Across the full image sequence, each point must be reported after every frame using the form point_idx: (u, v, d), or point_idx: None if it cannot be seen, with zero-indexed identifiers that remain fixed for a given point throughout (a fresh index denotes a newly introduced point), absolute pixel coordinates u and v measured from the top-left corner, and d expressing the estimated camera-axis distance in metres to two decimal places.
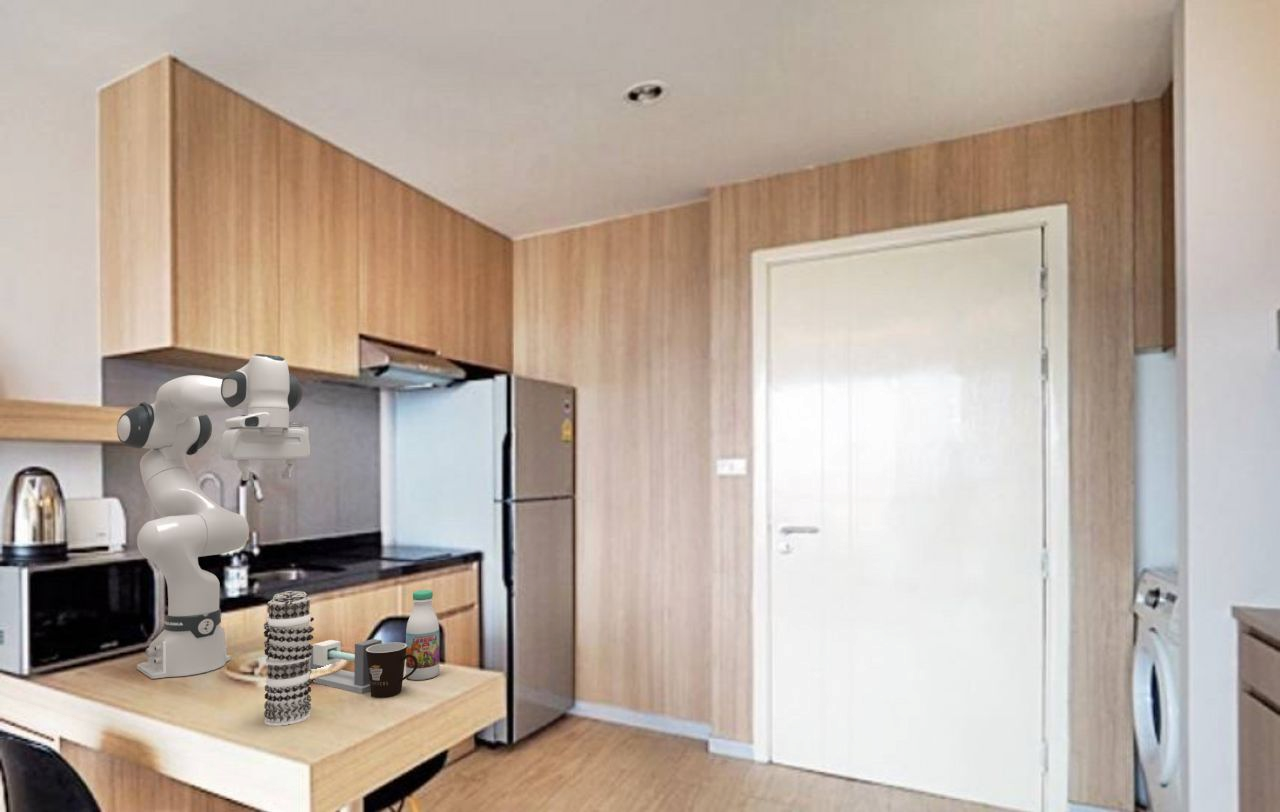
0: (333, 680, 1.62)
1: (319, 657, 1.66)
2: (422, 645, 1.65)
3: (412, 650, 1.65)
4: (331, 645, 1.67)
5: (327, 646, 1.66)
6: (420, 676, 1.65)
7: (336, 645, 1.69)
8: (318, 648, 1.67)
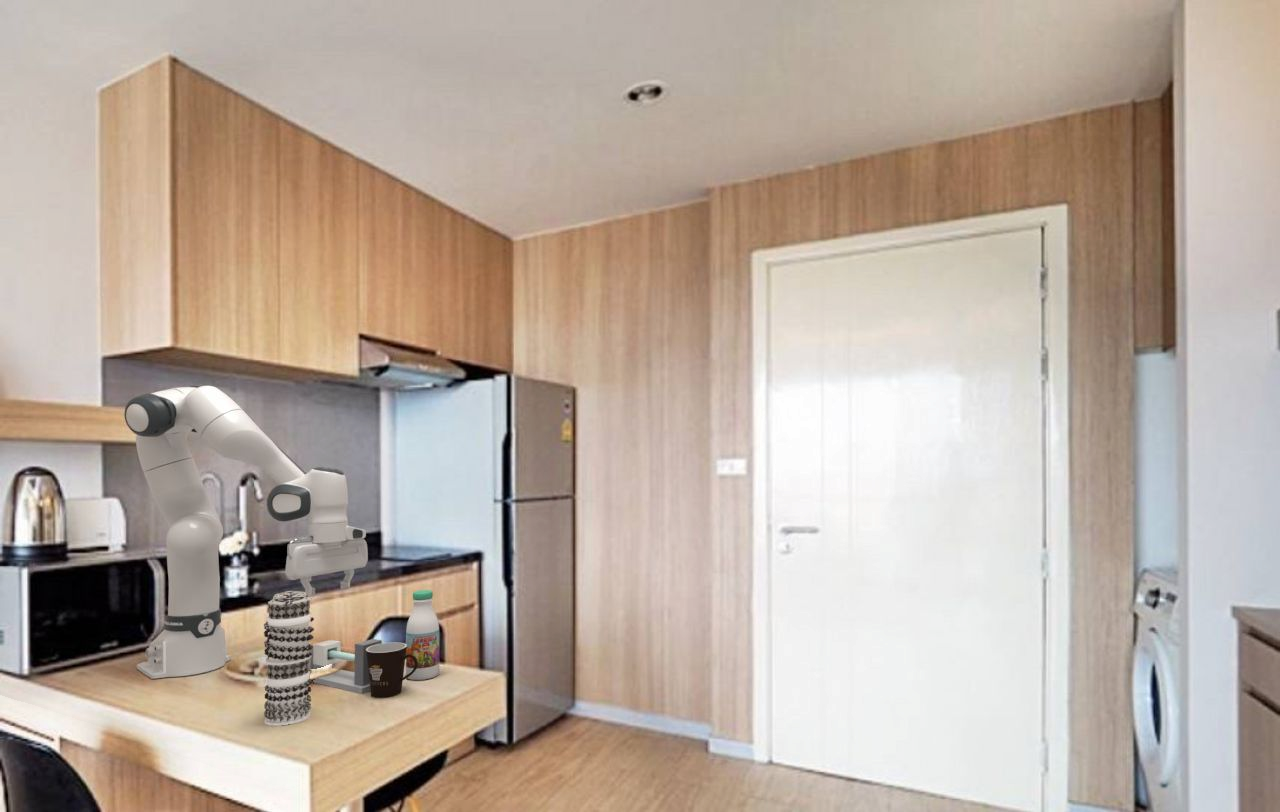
0: (333, 680, 1.62)
1: (319, 657, 1.66)
2: (422, 645, 1.65)
3: (412, 650, 1.65)
4: (331, 645, 1.67)
5: (327, 646, 1.66)
6: (420, 676, 1.65)
7: (336, 645, 1.69)
8: (318, 648, 1.67)
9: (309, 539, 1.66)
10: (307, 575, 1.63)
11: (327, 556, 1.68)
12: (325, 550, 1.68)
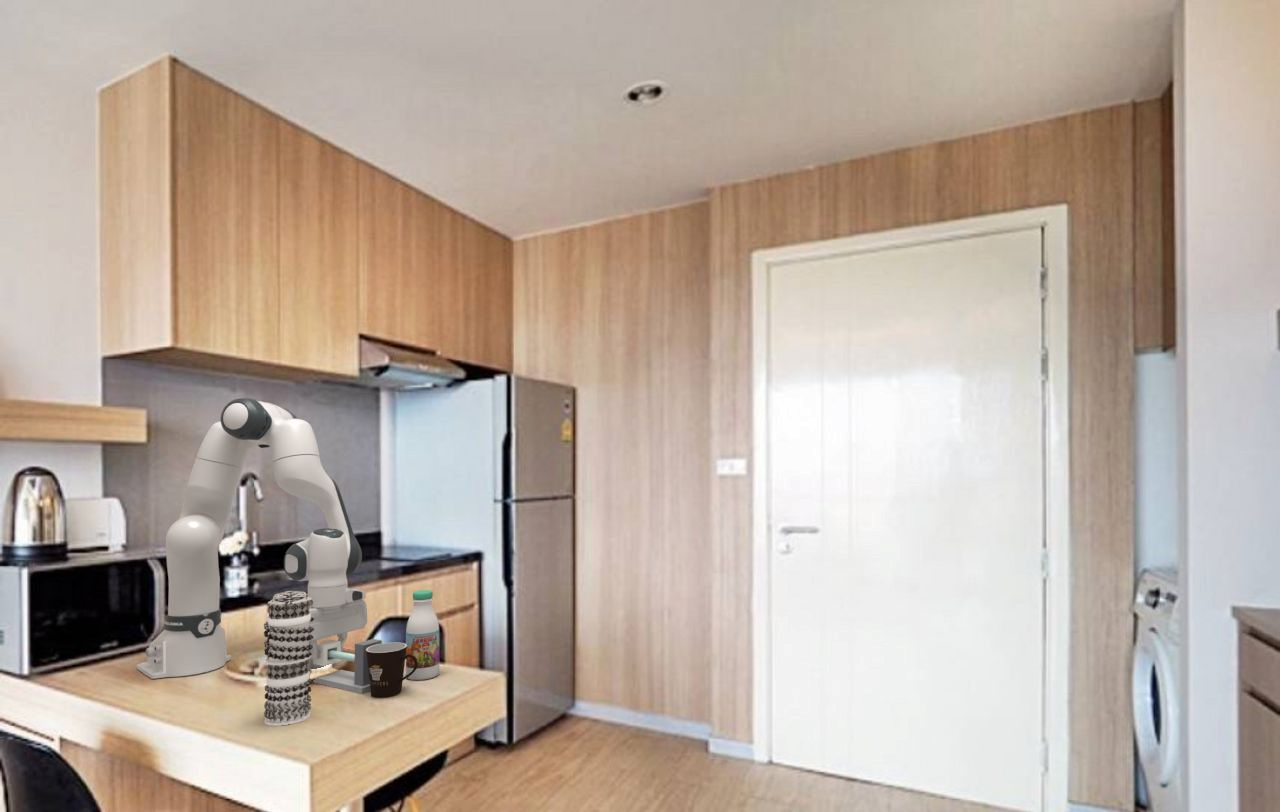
0: (333, 680, 1.62)
1: None
2: (422, 645, 1.65)
3: (412, 650, 1.65)
4: (331, 645, 1.67)
5: (327, 646, 1.66)
6: (420, 676, 1.65)
7: (336, 645, 1.69)
8: (318, 648, 1.67)
9: None
10: None
11: (326, 620, 1.67)
12: (324, 614, 1.67)
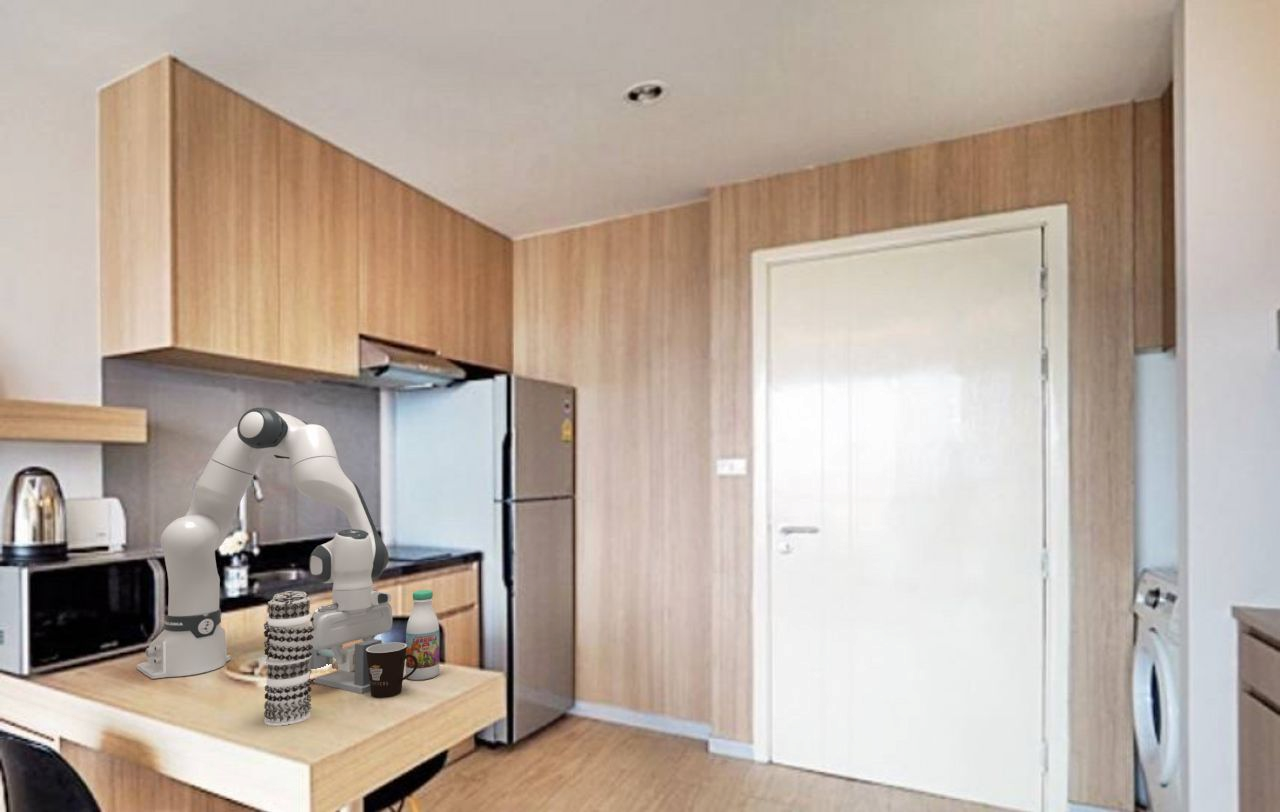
0: (333, 680, 1.62)
1: None
2: (422, 645, 1.65)
3: (412, 650, 1.65)
4: None
5: (353, 651, 1.62)
6: (420, 676, 1.65)
7: None
8: (343, 653, 1.62)
9: (334, 607, 1.60)
10: (332, 645, 1.57)
11: (352, 624, 1.62)
12: (350, 617, 1.62)
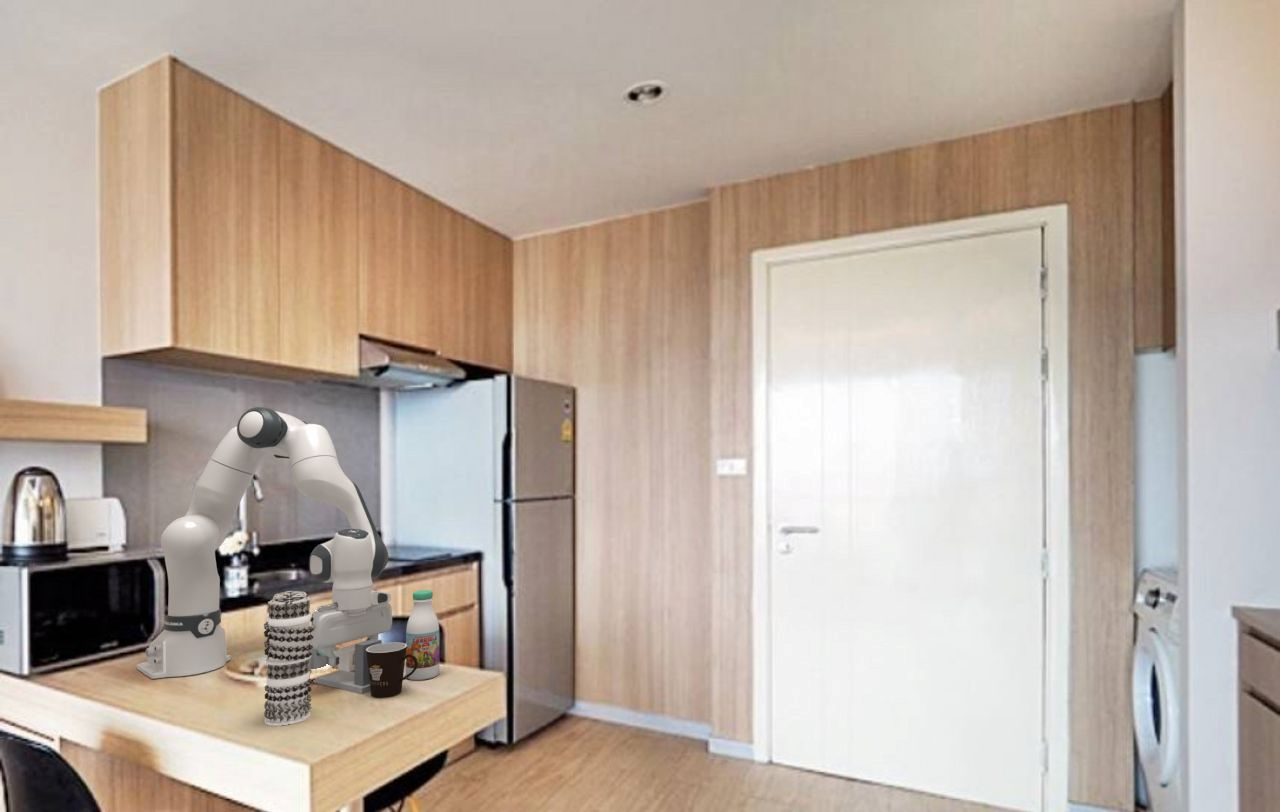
0: (333, 680, 1.62)
1: (344, 662, 1.61)
2: (422, 645, 1.65)
3: (412, 650, 1.65)
4: None
5: (352, 651, 1.62)
6: (420, 676, 1.65)
7: None
8: (343, 653, 1.62)
9: (333, 606, 1.60)
10: (331, 645, 1.57)
11: (352, 623, 1.62)
12: (350, 617, 1.62)
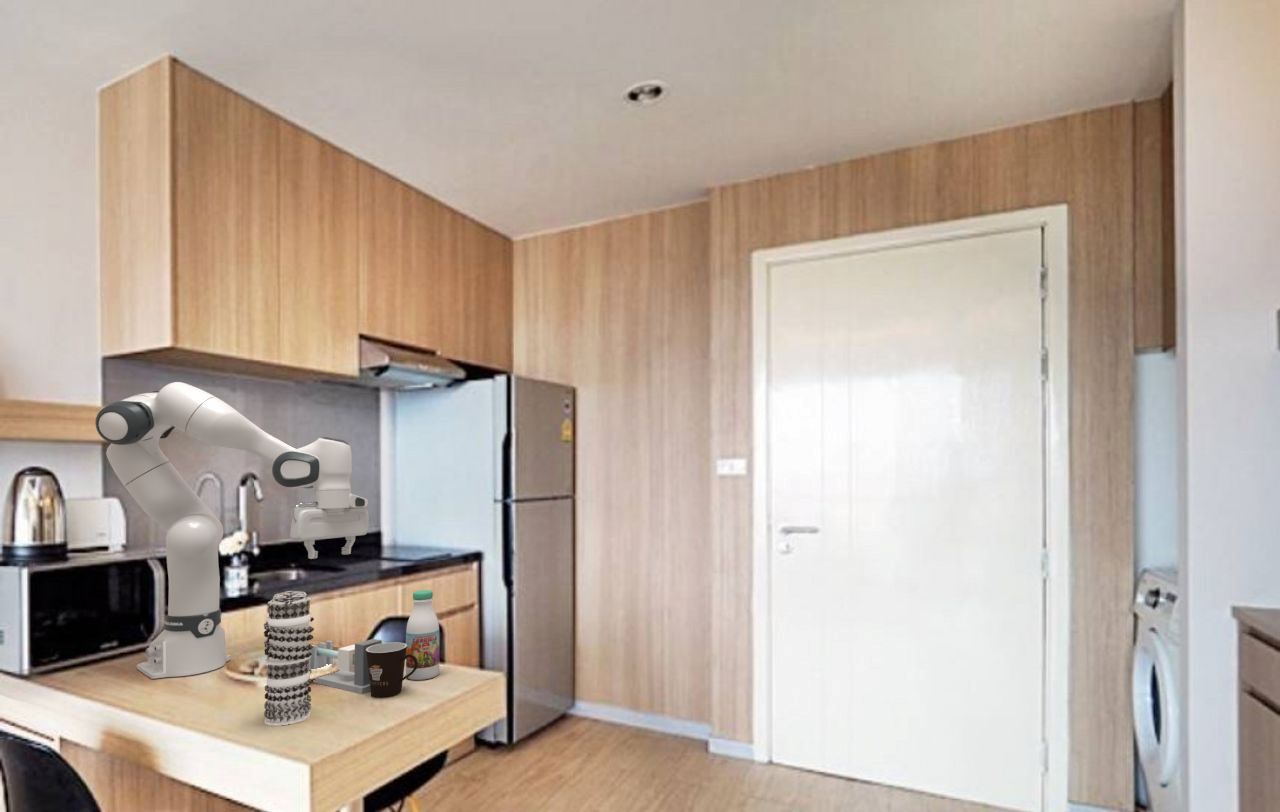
0: (333, 680, 1.62)
1: (344, 662, 1.61)
2: (422, 645, 1.65)
3: (412, 650, 1.65)
4: None
5: (352, 651, 1.62)
6: (420, 676, 1.65)
7: None
8: (343, 653, 1.62)
9: (314, 504, 1.74)
10: (311, 538, 1.71)
11: (330, 522, 1.76)
12: (328, 516, 1.75)
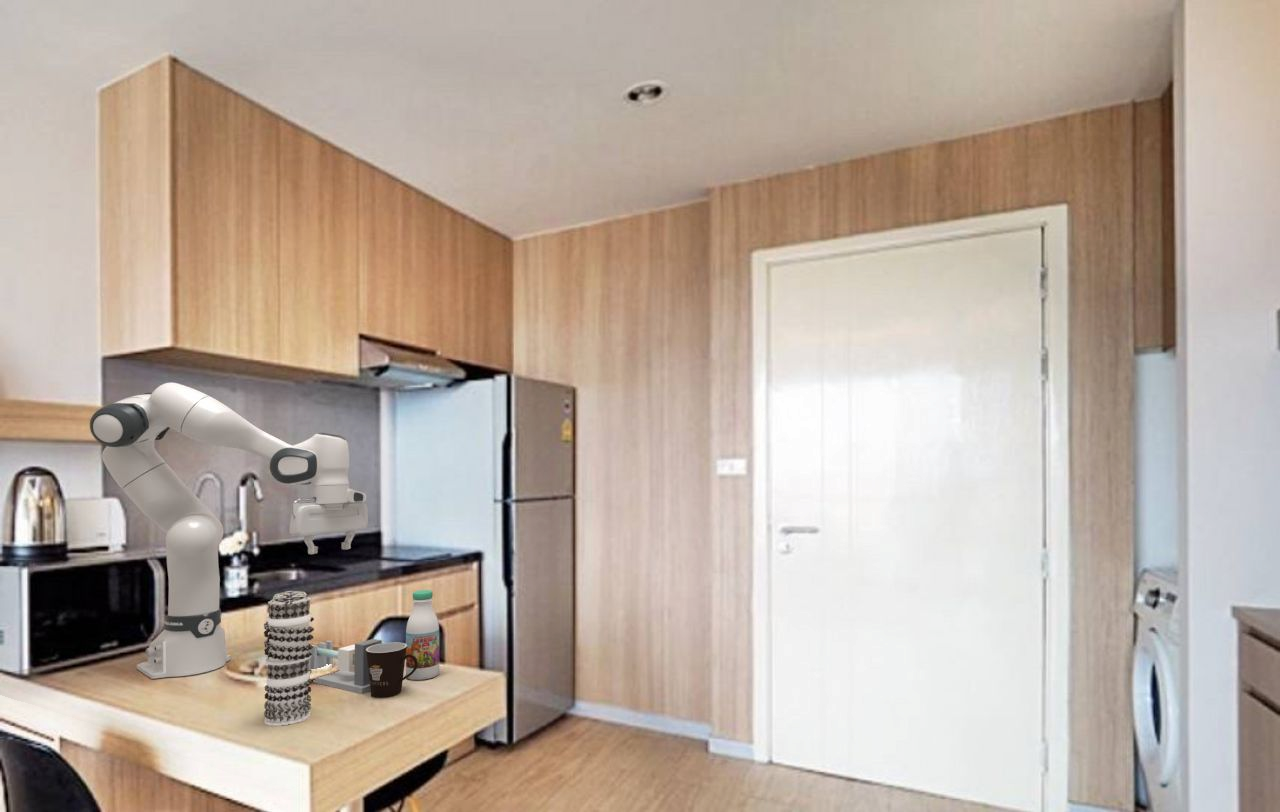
0: (333, 680, 1.62)
1: (344, 662, 1.61)
2: (422, 645, 1.65)
3: (412, 650, 1.65)
4: None
5: (352, 651, 1.62)
6: (420, 676, 1.65)
7: None
8: (343, 653, 1.62)
9: (312, 500, 1.74)
10: (310, 534, 1.72)
11: (329, 517, 1.77)
12: (327, 511, 1.76)
